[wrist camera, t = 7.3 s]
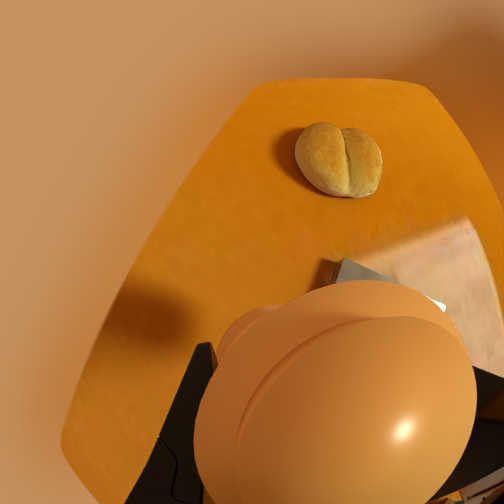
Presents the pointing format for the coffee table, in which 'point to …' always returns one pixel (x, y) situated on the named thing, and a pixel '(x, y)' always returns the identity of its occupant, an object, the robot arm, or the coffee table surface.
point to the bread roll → (339, 160)
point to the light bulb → (453, 501)
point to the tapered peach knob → (337, 400)
